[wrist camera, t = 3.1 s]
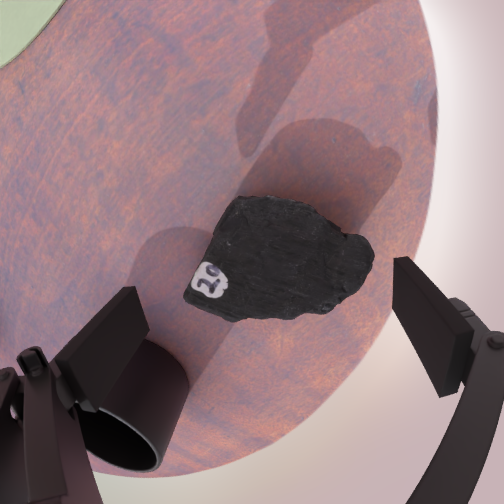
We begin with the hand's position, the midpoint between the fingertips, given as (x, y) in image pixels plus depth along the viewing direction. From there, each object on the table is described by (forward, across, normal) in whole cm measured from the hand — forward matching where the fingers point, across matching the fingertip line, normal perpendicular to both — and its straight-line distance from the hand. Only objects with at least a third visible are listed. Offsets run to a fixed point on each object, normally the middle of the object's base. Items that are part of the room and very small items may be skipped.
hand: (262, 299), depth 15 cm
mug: (+8, -14, -10) cm, 19 cm away
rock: (+8, 0, 0) cm, 8 cm away
